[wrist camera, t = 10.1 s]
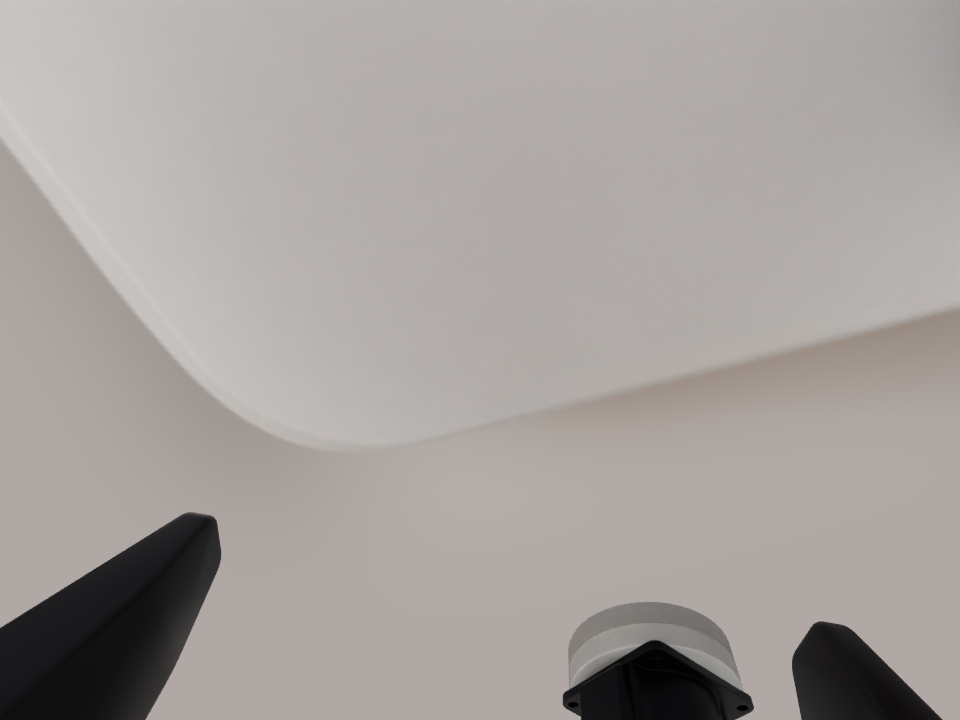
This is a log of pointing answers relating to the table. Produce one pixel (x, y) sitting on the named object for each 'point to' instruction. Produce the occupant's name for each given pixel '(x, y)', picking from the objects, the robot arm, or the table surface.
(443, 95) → the table surface
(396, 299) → the table surface
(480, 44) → the table surface
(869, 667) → the robot arm
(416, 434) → the table surface
